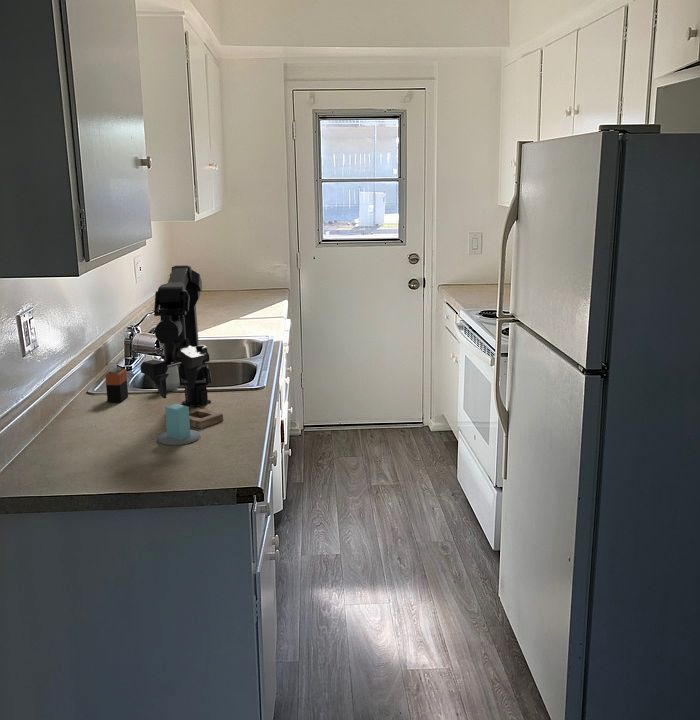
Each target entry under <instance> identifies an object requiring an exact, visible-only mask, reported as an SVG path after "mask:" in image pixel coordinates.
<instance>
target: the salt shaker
mask: <svg viewBox="0 0 700 720" xmlns="http://www.w3.org/2000/svg"><path fill="white" fill-rule="evenodd" d="M163 354H164V349H163V350H162V355H163ZM163 361H165V360H164V359H163ZM172 363H174V362H172ZM166 374H169V375H168V377H167V378H166V390H174V389H178V388H179V386H180V380H179V367H178V365H176V366H172V367H169V368H168V370H167V372H166Z"/></svg>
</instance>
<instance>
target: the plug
mask: <svg viewBox="0 0 700 720" xmlns="http://www.w3.org/2000/svg"><path fill="white" fill-rule="evenodd" d="M189 411H190V408H189V406H188V405H184V404H178V403H174V404H170V405H167V406H165V423H166V432H167V436H169V437H172V438H176V439H179V440H181V439H184V438H186V437H189V436H190V430H191V426H190V421H189Z"/></svg>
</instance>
